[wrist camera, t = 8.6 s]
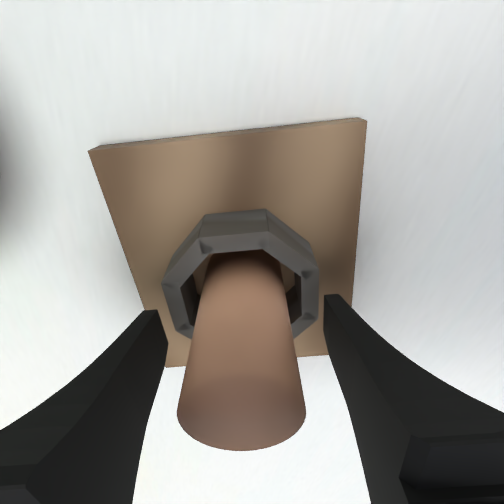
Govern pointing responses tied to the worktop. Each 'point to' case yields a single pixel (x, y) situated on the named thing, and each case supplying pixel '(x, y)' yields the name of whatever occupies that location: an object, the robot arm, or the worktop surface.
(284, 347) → the peg
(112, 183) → the holder
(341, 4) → the worktop surface
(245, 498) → the worktop surface
